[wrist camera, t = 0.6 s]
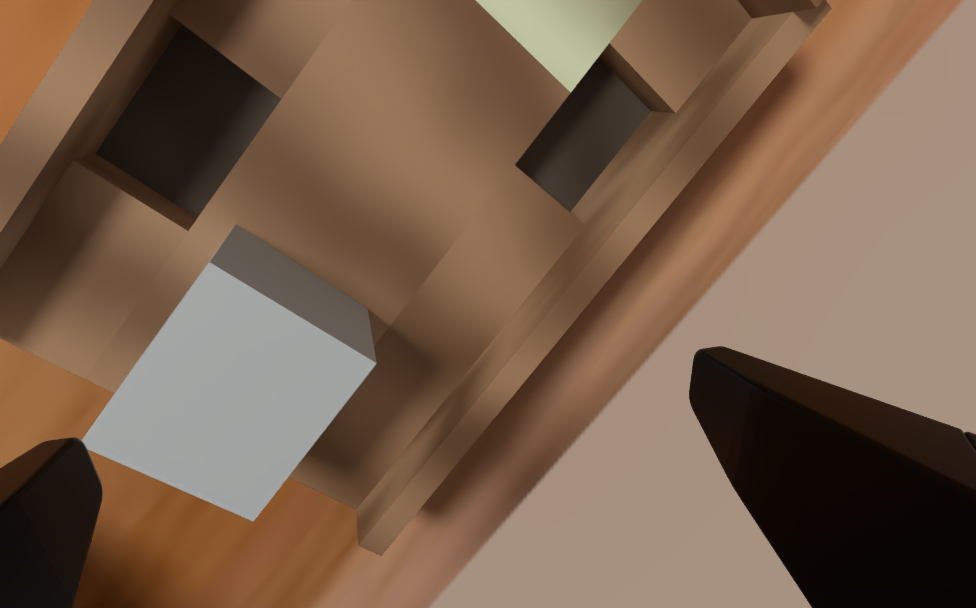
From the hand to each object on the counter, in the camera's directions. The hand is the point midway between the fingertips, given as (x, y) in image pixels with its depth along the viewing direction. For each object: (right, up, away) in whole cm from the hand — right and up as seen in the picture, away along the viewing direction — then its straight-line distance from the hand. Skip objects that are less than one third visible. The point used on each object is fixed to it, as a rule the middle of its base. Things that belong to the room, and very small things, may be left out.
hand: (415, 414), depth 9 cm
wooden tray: (-2, +7, +12) cm, 14 cm away
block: (-7, 0, +11) cm, 13 cm away
